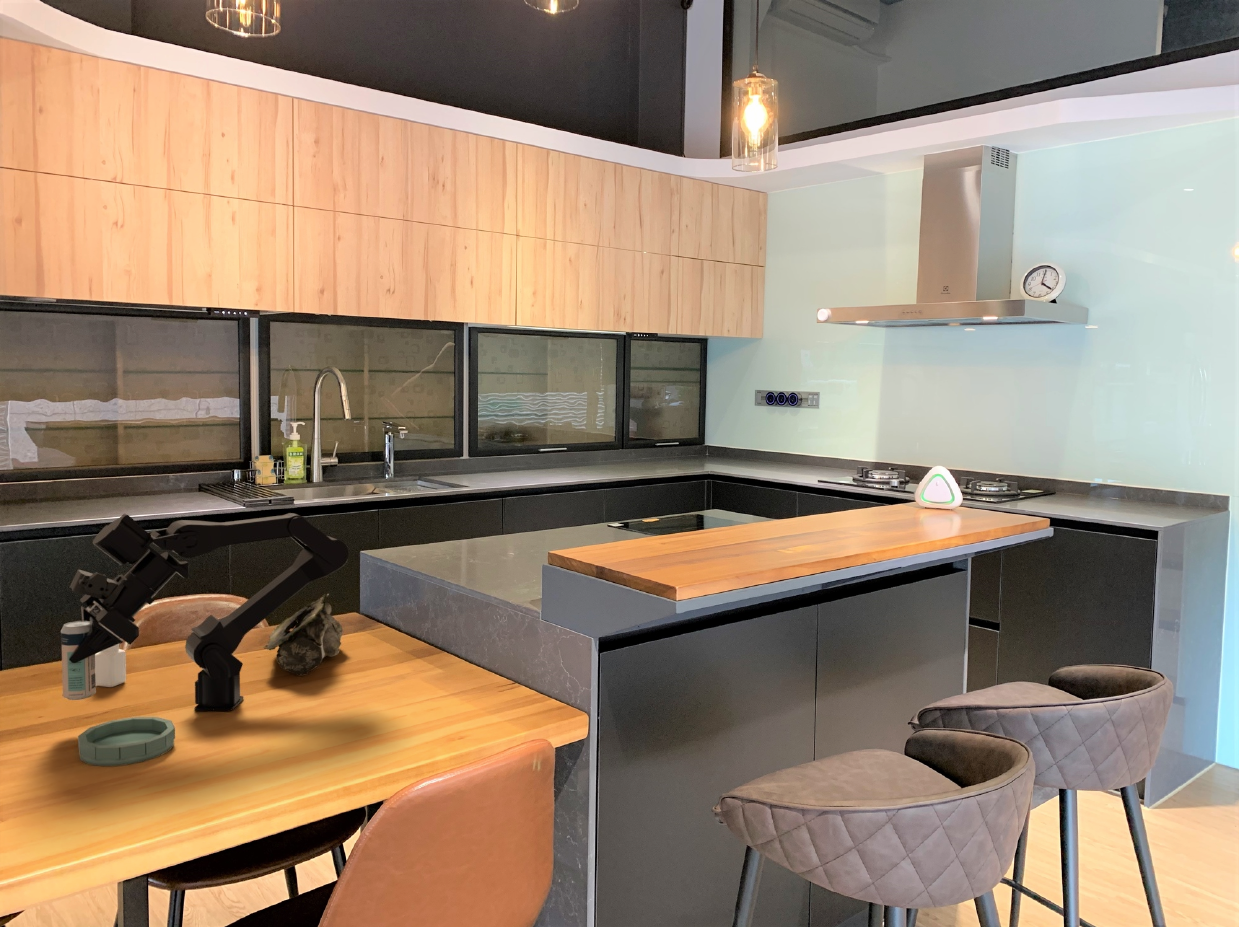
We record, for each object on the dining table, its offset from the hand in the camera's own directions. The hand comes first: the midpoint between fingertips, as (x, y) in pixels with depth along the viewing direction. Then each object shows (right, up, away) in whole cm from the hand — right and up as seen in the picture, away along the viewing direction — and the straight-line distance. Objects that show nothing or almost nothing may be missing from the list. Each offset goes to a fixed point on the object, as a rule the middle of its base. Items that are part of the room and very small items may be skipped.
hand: (68, 657), depth 150 cm
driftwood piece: (+24, -10, +42) cm, 49 cm away
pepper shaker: (-7, -10, +25) cm, 28 cm away
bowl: (+12, -13, -5) cm, 19 cm away
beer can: (+1, -7, +1) cm, 7 cm away
